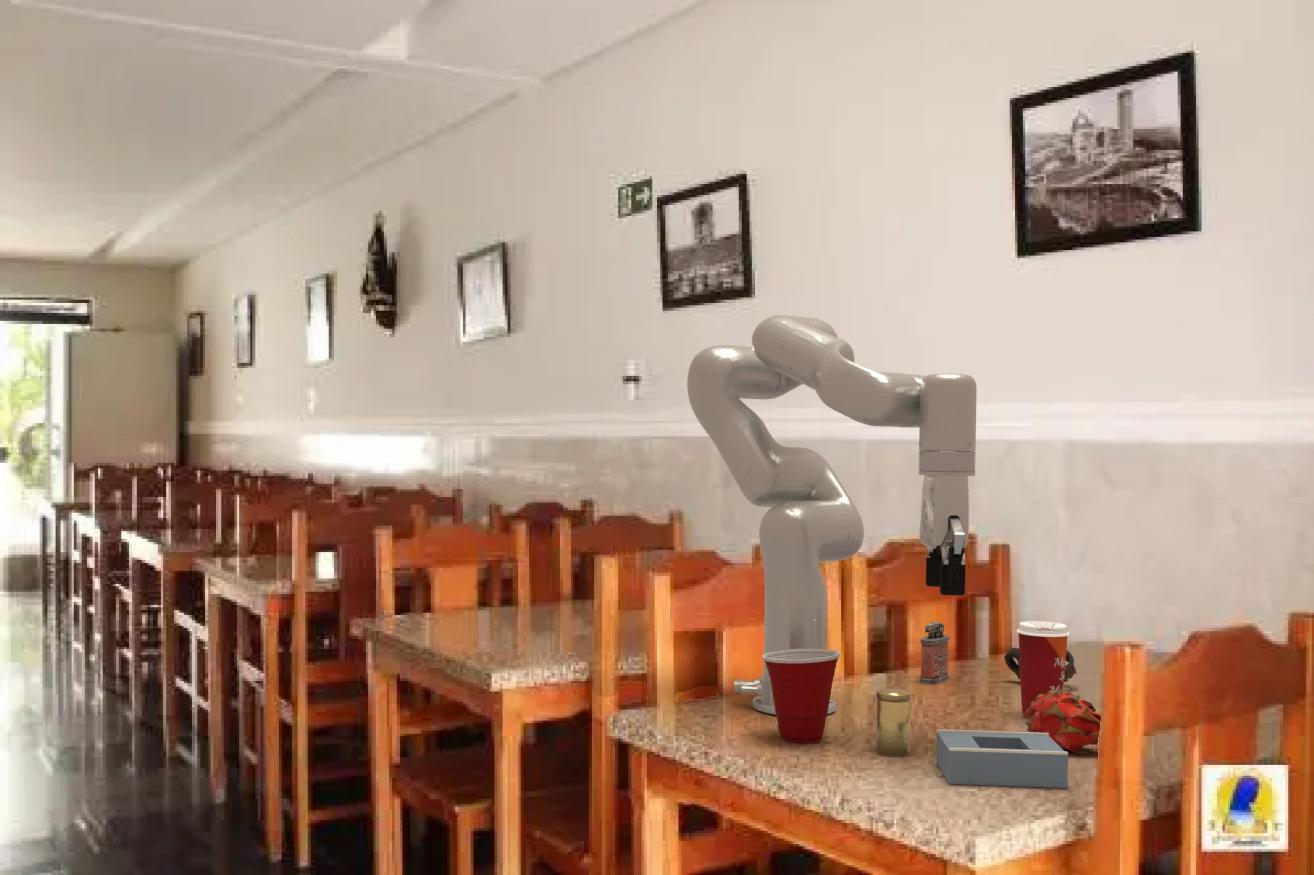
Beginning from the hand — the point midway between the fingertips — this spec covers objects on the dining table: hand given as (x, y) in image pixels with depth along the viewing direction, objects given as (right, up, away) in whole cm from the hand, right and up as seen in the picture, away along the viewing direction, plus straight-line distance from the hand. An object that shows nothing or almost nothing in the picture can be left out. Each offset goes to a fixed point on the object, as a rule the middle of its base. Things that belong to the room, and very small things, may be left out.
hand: (944, 590), depth 174 cm
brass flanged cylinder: (-8, -21, -5) cm, 23 cm away
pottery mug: (+26, -22, +43) cm, 55 cm away
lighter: (+9, -21, +46) cm, 52 cm away
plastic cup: (-20, -21, +2) cm, 29 cm away
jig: (+3, -21, -16) cm, 26 cm away
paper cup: (+19, -21, +18) cm, 34 cm away
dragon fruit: (+16, -22, -1) cm, 27 cm away
